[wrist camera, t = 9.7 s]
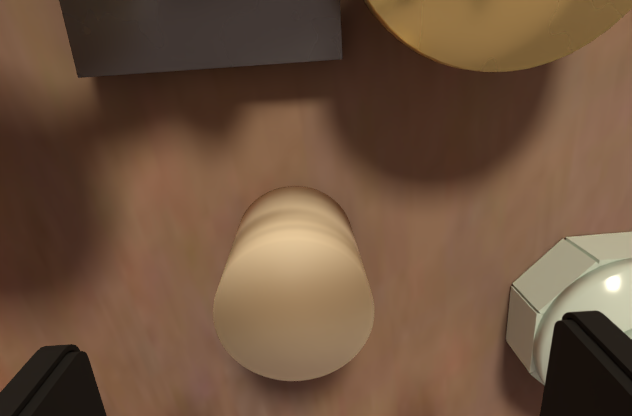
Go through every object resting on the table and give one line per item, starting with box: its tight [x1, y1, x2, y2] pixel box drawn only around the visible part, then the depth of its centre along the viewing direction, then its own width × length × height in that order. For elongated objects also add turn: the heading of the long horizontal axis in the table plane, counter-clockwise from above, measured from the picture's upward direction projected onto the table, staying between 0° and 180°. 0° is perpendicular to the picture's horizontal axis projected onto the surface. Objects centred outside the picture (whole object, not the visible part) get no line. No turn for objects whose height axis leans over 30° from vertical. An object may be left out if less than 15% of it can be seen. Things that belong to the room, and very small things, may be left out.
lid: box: [506, 232, 632, 386], centre depth 16 cm, size 7×7×4 cm
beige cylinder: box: [213, 186, 374, 381], centre depth 14 cm, size 4×4×5 cm
